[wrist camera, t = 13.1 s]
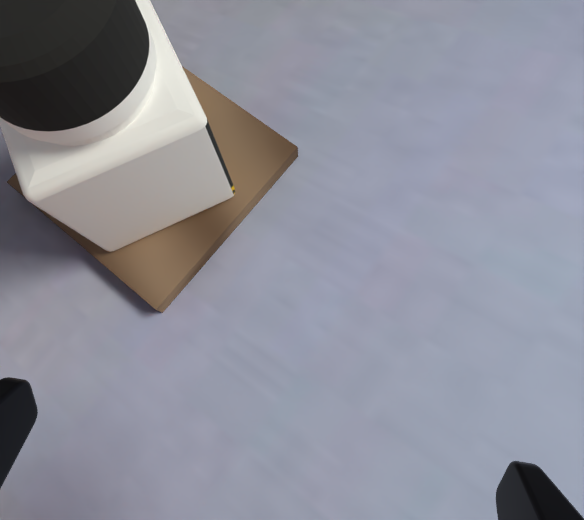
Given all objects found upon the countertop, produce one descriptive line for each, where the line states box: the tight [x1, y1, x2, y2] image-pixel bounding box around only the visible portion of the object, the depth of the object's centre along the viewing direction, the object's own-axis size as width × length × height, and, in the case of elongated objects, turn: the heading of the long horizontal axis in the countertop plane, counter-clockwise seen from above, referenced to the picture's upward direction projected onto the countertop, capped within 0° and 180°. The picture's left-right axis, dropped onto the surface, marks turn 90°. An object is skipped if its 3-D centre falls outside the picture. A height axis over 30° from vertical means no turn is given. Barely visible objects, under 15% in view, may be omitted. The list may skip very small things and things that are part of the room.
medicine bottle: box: [0, 0, 235, 252], centre depth 18 cm, size 7×7×12 cm
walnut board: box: [7, 67, 298, 313], centre depth 24 cm, size 11×11×1 cm
